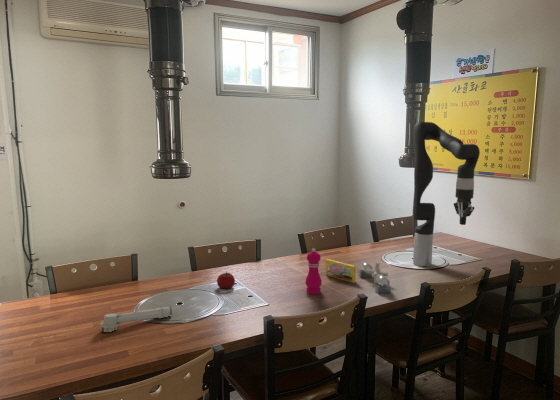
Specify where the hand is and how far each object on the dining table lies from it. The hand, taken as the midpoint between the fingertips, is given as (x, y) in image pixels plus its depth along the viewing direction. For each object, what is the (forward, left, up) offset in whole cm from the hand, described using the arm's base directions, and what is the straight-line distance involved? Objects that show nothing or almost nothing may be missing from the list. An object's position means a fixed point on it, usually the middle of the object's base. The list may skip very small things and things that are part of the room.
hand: (462, 224), depth 189 cm
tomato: (-12, -110, -27) cm, 114 cm away
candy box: (-13, -55, -27) cm, 63 cm away
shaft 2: (+6, -42, -27) cm, 50 cm away
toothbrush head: (+18, -144, -28) cm, 148 cm away
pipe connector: (-3, -41, -27) cm, 49 cm away
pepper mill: (+1, -72, -27) cm, 77 cm away
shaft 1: (-12, -42, -27) cm, 51 cm away
